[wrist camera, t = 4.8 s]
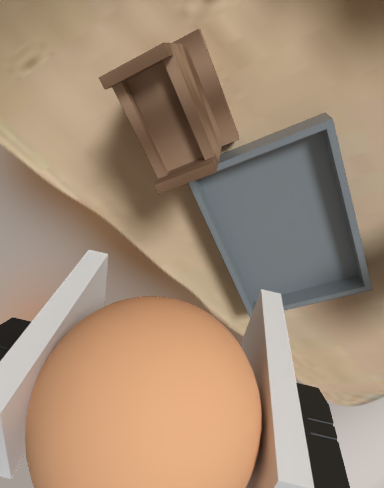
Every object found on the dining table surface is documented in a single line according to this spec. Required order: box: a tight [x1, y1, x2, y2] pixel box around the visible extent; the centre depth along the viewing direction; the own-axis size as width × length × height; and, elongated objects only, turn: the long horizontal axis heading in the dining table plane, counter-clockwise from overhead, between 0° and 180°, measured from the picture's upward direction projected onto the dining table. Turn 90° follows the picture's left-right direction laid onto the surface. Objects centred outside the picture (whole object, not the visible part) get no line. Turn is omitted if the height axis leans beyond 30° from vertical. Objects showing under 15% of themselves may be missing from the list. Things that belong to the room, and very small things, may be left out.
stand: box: [99, 29, 239, 195], centre depth 25 cm, size 9×7×10 cm
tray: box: [188, 113, 372, 318], centre depth 33 cm, size 18×13×3 cm
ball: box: [25, 296, 262, 488], centre depth 9 cm, size 6×6×6 cm
